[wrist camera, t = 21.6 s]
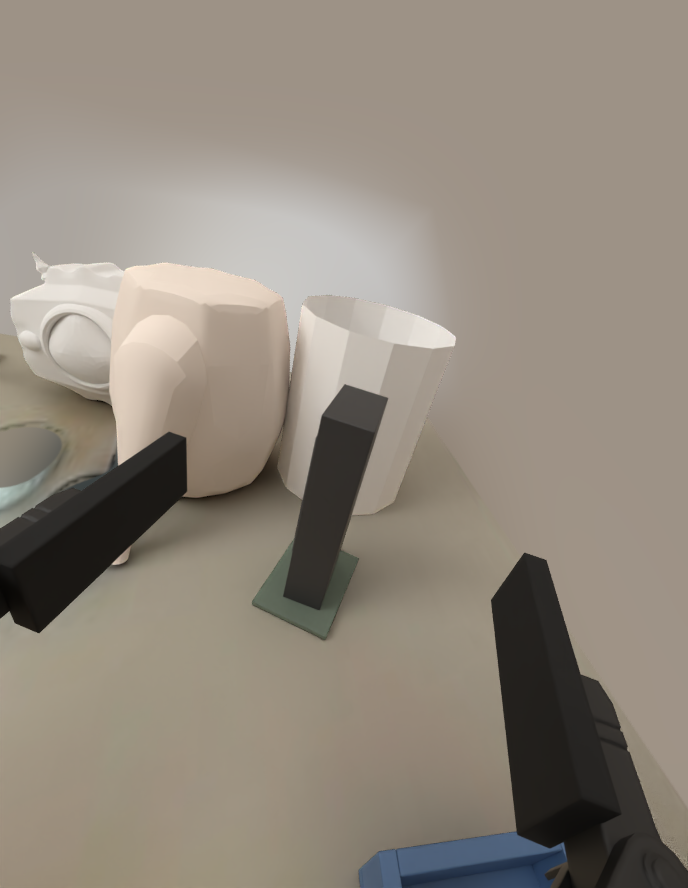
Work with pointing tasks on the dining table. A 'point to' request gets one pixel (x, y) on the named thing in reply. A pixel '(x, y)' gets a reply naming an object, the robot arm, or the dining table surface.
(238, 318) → the watering can
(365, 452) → the block
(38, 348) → the camera
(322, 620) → the mat
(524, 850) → the box
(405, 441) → the container
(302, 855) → the dining table surface
